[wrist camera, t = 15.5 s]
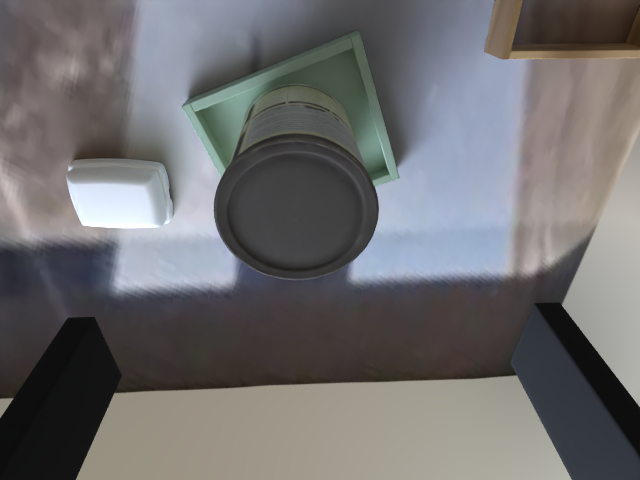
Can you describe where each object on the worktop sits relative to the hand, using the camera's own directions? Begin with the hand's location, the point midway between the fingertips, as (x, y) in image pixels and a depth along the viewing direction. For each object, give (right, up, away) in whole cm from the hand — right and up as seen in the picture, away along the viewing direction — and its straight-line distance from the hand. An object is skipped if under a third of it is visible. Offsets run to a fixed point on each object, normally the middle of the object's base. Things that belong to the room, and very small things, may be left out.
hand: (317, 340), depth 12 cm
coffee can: (-2, +13, +24) cm, 27 cm away
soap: (-19, +8, +27) cm, 34 cm away
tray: (-2, +13, +24) cm, 28 cm away
